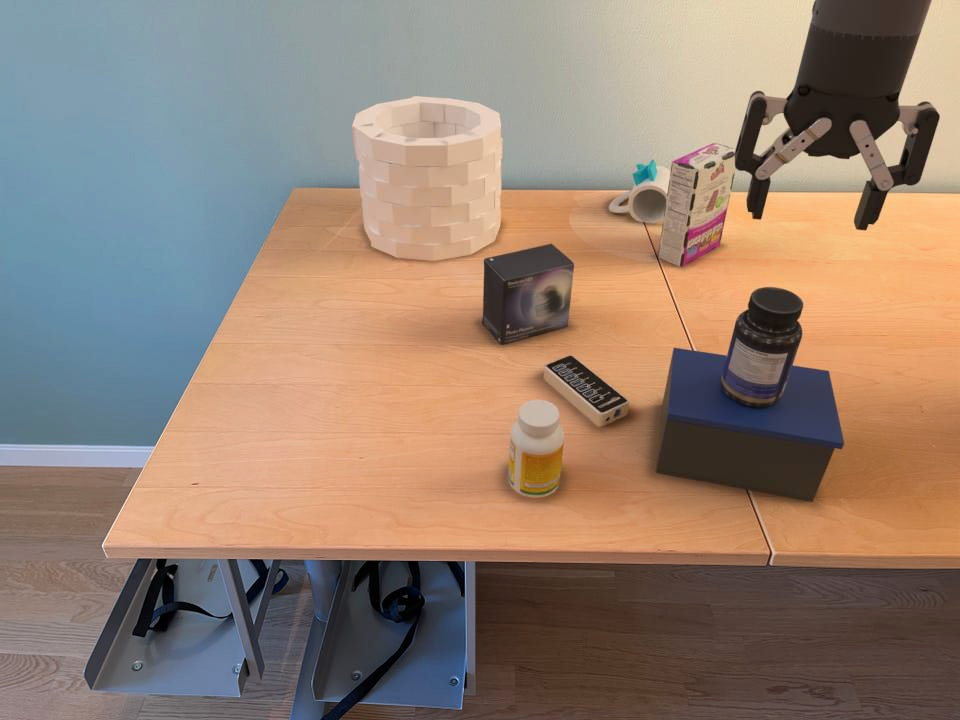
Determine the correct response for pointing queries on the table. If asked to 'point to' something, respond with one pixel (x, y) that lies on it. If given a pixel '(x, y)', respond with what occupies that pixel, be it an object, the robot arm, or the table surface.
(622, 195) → the mug
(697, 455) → the storage box
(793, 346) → the pill bottle
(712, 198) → the candy bar box
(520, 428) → the supplement bottle
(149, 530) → the table surface
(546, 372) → the multiport hub
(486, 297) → the small box
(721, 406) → the storage lid
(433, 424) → the table surface
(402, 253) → the basket
